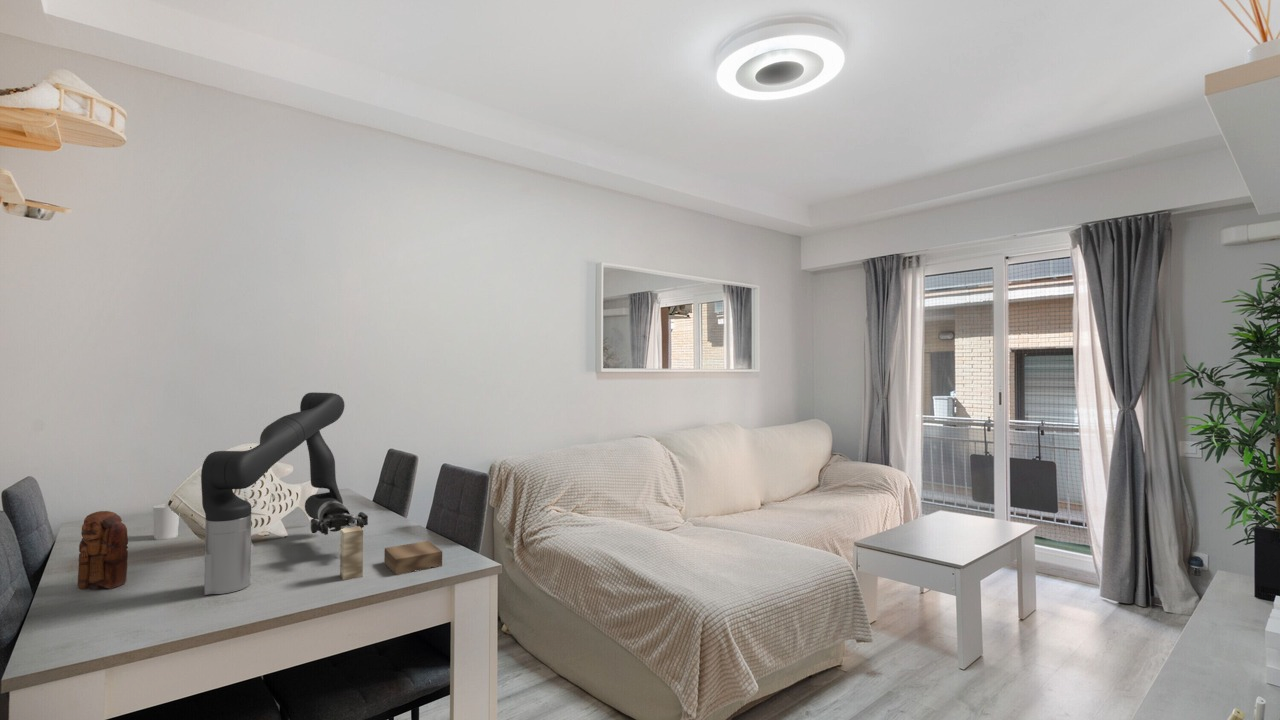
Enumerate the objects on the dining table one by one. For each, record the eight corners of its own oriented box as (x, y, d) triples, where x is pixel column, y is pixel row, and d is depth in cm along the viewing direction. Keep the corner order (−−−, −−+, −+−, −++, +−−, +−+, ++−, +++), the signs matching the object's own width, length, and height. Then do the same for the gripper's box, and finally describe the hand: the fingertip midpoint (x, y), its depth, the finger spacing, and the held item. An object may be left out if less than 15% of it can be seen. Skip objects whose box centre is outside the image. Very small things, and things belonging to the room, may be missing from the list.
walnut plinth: (395, 574, 154) (396, 559, 154) (384, 562, 164) (384, 548, 164) (442, 566, 161) (442, 551, 161) (428, 554, 171) (428, 540, 171)
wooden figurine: (65, 589, 143) (66, 514, 143) (91, 579, 149) (92, 508, 149) (111, 590, 142) (112, 515, 142) (135, 581, 148) (136, 509, 149)
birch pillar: (343, 580, 150) (343, 532, 150) (340, 575, 154) (340, 528, 154) (362, 576, 153) (363, 530, 153) (358, 571, 156) (359, 526, 157)
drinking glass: (179, 533, 191) (179, 501, 192) (179, 537, 186) (180, 505, 186) (152, 536, 187) (152, 504, 187) (152, 541, 182) (153, 508, 182)
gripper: (306, 506, 171) (314, 518, 158) (359, 499, 180) (371, 510, 167) (306, 532, 171) (314, 546, 158) (359, 524, 180) (371, 537, 167)
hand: (344, 528), depth 163 cm, fingers open, 8 cm apart
